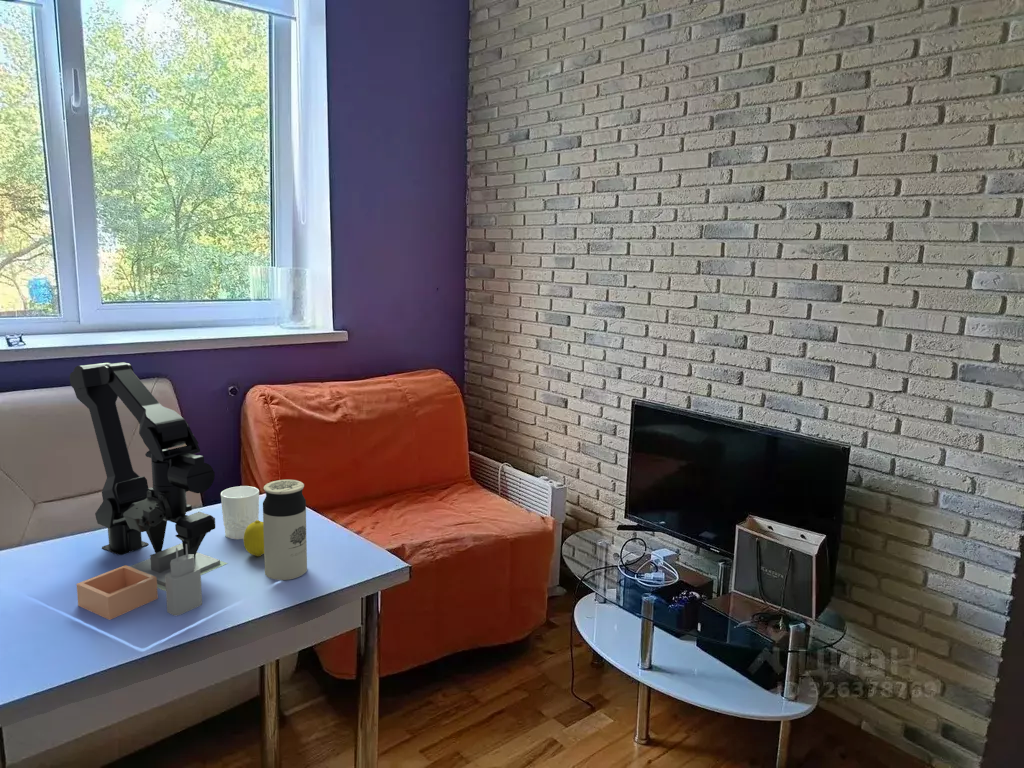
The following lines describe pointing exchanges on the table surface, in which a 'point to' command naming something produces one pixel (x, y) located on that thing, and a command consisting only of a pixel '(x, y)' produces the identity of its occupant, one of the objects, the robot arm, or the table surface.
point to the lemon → (254, 538)
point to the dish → (117, 591)
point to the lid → (161, 561)
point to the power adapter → (183, 585)
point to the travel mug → (284, 530)
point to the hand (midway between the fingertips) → (173, 557)
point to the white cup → (239, 509)
